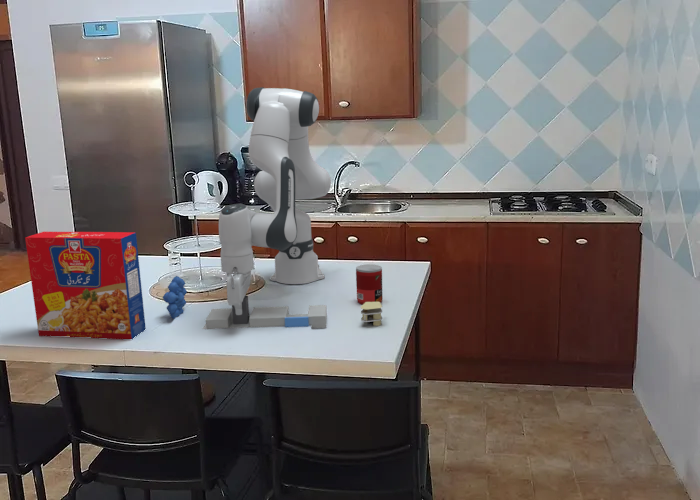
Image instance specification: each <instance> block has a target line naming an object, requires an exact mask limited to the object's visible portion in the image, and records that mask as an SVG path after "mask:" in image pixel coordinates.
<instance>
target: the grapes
mask: <svg viewBox="0 0 700 500" xmlns="http://www.w3.org/2000/svg"><path fill="white" fill-rule="evenodd" d="M185 285H186V282H185V281H184V279H183V278H181V277H180V276H177V275H176V276H174V277H173V278H172V279H171V282H169V284H168V286H167V289H168V291H167V292H165V293H164V294H163V296H162V299H163V301H164V302H165V303H167V304H168V305H167V306H166V310H167V312H168V314H169V316H170V318H171V319H174V320H175V319H176V318H178V317H179V316H180V315H181V314H184V307H185V305H186V304H187V301H186V300H185V296H186V294H187V293H188V291H187V289H186V287H185Z"/></svg>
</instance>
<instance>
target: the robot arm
mask: <svg viewBox="0 0 700 500" xmlns="http://www.w3.org/2000/svg"><path fill="white" fill-rule="evenodd" d="M245 102H246V104H245V106H246V113H247V116H248V118H250V119H251V121H253V123H252V128H251V131H250V136H249V143H248V156H249V158H250V160H251V162H252V164H253V165H255V167H256V168H258V169H259V170H260V171H259V172H257V174H256V176H255V178H254V182H253V187H254V191H255V193H256V195H257V196H258V197H259V198H260V200H262V201H264V202H265V203H267V204H268V205H269V206H270V208H271V210H272V211H273V213H269V212H268V213H266V212H257V211H254V210H252V209H249V208H248V206H247V205H246V204H243V203H234V204H229V205H226V206H223V208H221V210H220V212H219V217H218V237H219V238H218V239H219V242H220V245H221V246H220V247H221V248H220V249H221V250H220V254H219V255H220V266H221V271H222V272H223V273H226V277H227V278H226V294H227V295H226V297H227V298H226V300H227V304H228V306H231V307H232V305H234V307H235V311H236V315H242V313H243V308H242V301H243V299H244V297H245V296H247V295H246V294H247V293H248V290H249V288H250V287H251V279H252V278H251V277H252V276H251V275H252V271H253V270H254V268H255V267H254V265H255V264H254V252H253V248H252V247H253V246H254V247H260V248H270V249H272V250H277V251H278V253H277V254H276V255H275V257H274V273H273V274H272V275H270V279H269V280H270V281H272V282H278V283H280V284H286V285H301V284H302V285H303V284H308V283H313V282H316V281H318V280H324V279H325V275H324V273H323V272H322V270H321V269H320V264H319V259H318V258H319V257H318V256H319V255H317V253H316V252H314V239H313V238H312V221H311V217H310V215H309V214H308V213H307V212H306V211H304V210H301V209H299V208H297V207H296V201H297V200H298V201H299V200H313V199H318V198H322V197H325V196H326V195H327V194H328V193H329V191H330V189H331V186H332V180H331V176H330V174H329V172H328V171H327V170H326V169H325V168H324V167H322V166H321V165H319V164H318V163H317V162H316V161H315V160H314V158H313V156H312V154H311V151H310V150H311V149H310V144H309V141H310V140H309V127H311V126H313V125H314V124H315V123H316V121H317V119H318V116H319V112H320V104H319V98H317V96H316V95H315V94H314V93H312V92H310V91H307V90H304V91H302V90H297V89H291V88H285V87H283V88H277V87H272V88H271V87H268V88H266V87H263V86H262V87H254V88H253V89H251V90H250V92H249V93H248V95H247V97H246V101H245Z"/></svg>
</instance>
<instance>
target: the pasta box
mask: <svg viewBox="0 0 700 500" xmlns="http://www.w3.org/2000/svg"><path fill="white" fill-rule="evenodd" d="M24 238H25V245H26V254H27V260H28V268H29V276H30V281H31V289H32V296H33V302H34V308H35V309H34V311H35V318H36V324H37V331H38V336H39V337H51V336H70V337H69V338H75V337H91V338H90V339H99V338H107V339H106V340H123V339H132V340H133V338H134V337H135V336H136V337H138V336H139V335H140V333H141V332H142V333H143V332H145V331H146V330H147V328H146V319H145V309H144V308H145V307H144V299H143V289H142V288H143V287H142V281H141V271H140V269H141V268H140V262H139V261H140V260H139V252H138V242H137V241H138V239H137V233H136V232H129V231H127V232H123V231H120V232H119V231H115V232H114V231H41V232H38V233H35V234H32V235H29V236H27V237H24ZM145 329H146V330H145ZM144 330H145V331H144ZM142 333H141V334H142ZM138 334H139V335H138ZM137 335H138V336H137ZM136 337H135V338H136ZM135 338H134V339H135Z"/></svg>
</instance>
